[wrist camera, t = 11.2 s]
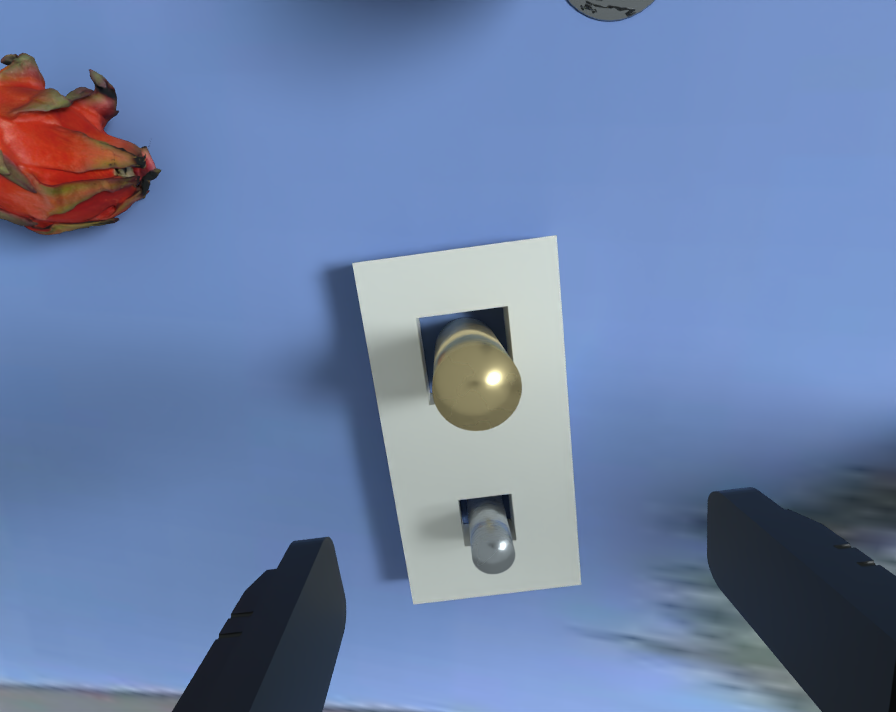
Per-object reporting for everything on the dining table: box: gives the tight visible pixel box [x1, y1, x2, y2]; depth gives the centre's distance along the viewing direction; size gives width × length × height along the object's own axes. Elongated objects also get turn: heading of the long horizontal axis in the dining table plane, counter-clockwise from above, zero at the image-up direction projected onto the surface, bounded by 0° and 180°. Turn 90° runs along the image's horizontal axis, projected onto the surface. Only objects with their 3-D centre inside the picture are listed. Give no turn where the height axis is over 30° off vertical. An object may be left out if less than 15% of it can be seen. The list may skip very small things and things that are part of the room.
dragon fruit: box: [0, 53, 161, 235], centre depth 22 cm, size 8×8×12 cm
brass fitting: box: [432, 318, 522, 431], centre depth 24 cm, size 4×4×9 cm
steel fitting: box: [467, 495, 515, 574], centre depth 28 cm, size 3×3×6 cm
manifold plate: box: [352, 235, 581, 604], centre depth 28 cm, size 12×24×2 cm, turn 8°
